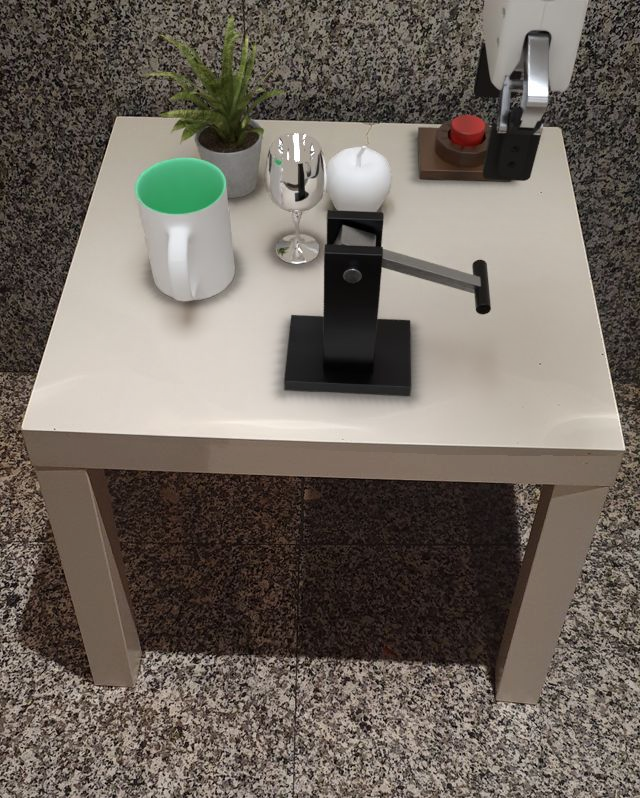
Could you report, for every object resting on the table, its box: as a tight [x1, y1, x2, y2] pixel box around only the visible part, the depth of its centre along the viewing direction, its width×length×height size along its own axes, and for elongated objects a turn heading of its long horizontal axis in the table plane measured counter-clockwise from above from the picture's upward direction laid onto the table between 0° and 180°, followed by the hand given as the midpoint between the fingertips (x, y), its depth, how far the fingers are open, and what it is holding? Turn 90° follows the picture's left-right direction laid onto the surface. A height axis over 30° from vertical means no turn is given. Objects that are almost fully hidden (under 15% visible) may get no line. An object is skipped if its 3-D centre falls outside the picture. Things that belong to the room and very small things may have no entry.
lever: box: [334, 225, 492, 315], centre depth 67 cm, size 13×5×2 cm, turn 86°
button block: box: [417, 118, 512, 182], centre depth 93 cm, size 10×8×3 cm
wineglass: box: [264, 132, 327, 265], centre depth 80 cm, size 6×6×12 cm
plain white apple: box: [325, 145, 393, 212], centre depth 86 cm, size 7×7×8 cm
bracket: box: [283, 209, 412, 397], centre depth 70 cm, size 11×8×15 cm
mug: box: [134, 157, 236, 302], centre depth 77 cm, size 12×8×10 cm, turn 4°
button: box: [450, 114, 486, 147], centre depth 91 cm, size 4×4×2 cm
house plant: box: [144, 13, 286, 199], centre depth 86 cm, size 14×14×16 cm
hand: (499, 134), depth 60 cm, fingers open, 9 cm apart
